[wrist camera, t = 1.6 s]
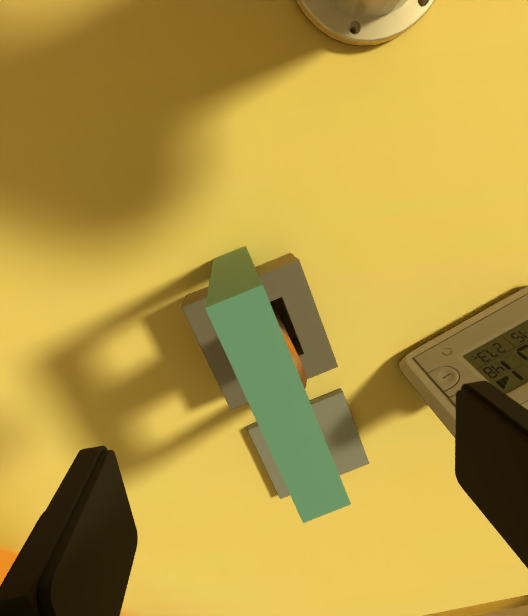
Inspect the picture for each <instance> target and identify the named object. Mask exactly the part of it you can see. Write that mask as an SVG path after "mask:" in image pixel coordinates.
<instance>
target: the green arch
mask: <svg viewBox="0 0 528 616" xmlns="http://www.w3.org/2000/svg"><path fill="white" fill-rule="evenodd" d="M205 309H206V311H207V314H208V316H209V318H210V320H211V322H212V324H213V327H214V329H215V331H216V333H217V335H218V338H219V340H220V342H221V344H222V346H223V349H224V351H225V353H226V355H227V357H228V359H229V362H230V364H231V366H232V368H233V370H234V373H235V375H236V377H237V379H238V381H239V384H240V386H241V388H242V390H243V392H244V395H245V397H246V399H247V401H248V403H249V405H250V408H251V410H252V412H253V414H254V416H255V419H256V421H257V423H258V425H259V427H260V430H261V432H262V434H263V436H264V438H265V440H266V443H267V445H268V447H269V449H270V451H271V454H272V456H273V458H274V460H275V462H276V465H277V467H278V469H279V471H280V473H281V476H282V478H283V480H284V482H285V484H286V486H287V489H288V491H289V493H290V495H291V497H292V500H293V502H294V504H295V506H296V508H297V511H298V513H299V515H300V517H301V519H302V521H303V523H305V522H307V521H310V520H312V519H315V518H317V517H320V516H322V515H325V514H327V513H330V512H332V511H335V510H337V509H340V508H342V507H345V506H348V505H350V504H351V503H350V501H349V498H348V496H347V493H346V491H345V488H344V486H343V483H342V481H341V478H340V476H339V473H338V471H337V468H336V466H335V463H334V461H333V458H332V456H331V453H330V451H329V448H328V446H327V443H326V441H325V438H324V436H323V433H322V431H321V429H320V426H319V424H318V421H317V419H316V416H315V414H314V411H313V409H312V406H311V404H310V401H309V399H308V396H307V394H306V391H305V389H304V386H303V384H302V381H301V379H300V376H299V374H298V371H297V369H296V366H295V364H294V361H293V359H292V356H291V354H290V351H289V349H288V346H287V344H286V341H285V339H284V336H283V334H282V331H281V329H280V326H279V324H278V321H277V319H276V316H275V314H274V311H273V309H272V306H271V304H270V301H269V299H268V296H267V294H266V291H265V289H264V286H263V284H262V282H261V280H260V277H259V275H258V273H257V271H256V268H255V266H254V264H253V262H252V260H251V257H250V255H249V253H248V251H247V248H246V246H244V247H242V248H240V249H237V250H235V251H232V252H230V253H227V254H225V255H222V256H220V257H217V258H215V259H213V264H212V270H211V276H210V282H209V288H208V293H207V299H206V305H205Z"/></svg>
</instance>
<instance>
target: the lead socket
mask: <svg viewBox="0 0 528 616" xmlns="http://www.w3.org/2000/svg"><path fill="white" fill-rule="evenodd" d="M255 268H256V271H257V273H258V275H259V277H260V280H261V282H262V284H263V286H264V289H265V291H266V294H267V296H268V299H269V301H273V300H275V299H278V298H281V301H282V303H283V306H284V308H285V311H286V313H287V316H288V319H289V321H290V324H291V326H292V329H293V331H294V334H295V336H296V338H294V339H292V340H291V342H292V344H293V346H294V348H295V350H296V352H297V354H298V357H299V359H300V361H301V363H302V365H303V367H304V369H305V372H306V377H307V379H309V378H311V377H314V376H316V375H319V374H321V373H323V372H326V371H328V370H331V369H333V368H336V367H338V365H337V363H336V360H335V357H334V354H333V352H332V349H331V346H330V343H329V341H328V338H327V335H326V332H325V330H324V327H323V324H322V322H321V319H320V316H319V313H318V311H317V308H316V305H315V302H314V300H313V297H312V294H311V291H310V289H309V286H308V283H307V280H306V278H305V275H304V272H303V269H302V267H301V264H300V261H299V259H297V258H296V257H295V256H294V255H293V254H291V253H289V254H287V255H284V256H282V257H279V258H277V259H275V260H272V261H270V262H267V263H265V264H262V265H260V266H257V267H255ZM208 288H209V286H208V287H205V288H203V289H201V290H198V291H196V292H193V293H191V294H188V295H186V298H185V300H184V303H183V305H182V309H183V311H184V313H185V315H186V317H187V319H188V321H189V323H190V326H191V328H192V330H193V332H194V334H195V336H196V338H197V340H198V342H199V344H200V347H201V349H202V351H203V353H204V355H205V357H206V359H207V361H208V363H209V365H210V368H211V370H212V372H213V374H214V376H215V378H216V380H217V382H218V384H219V386H220V389H221V391H222V393H223V395H224V397H225V399H226V401H227V403H228V405H229V408H230V410H231V409H234V408H236V407H239V406H241V405H244V404H246V403H248V401H247V399H246V397H245V395H244V392H243V390H242V388H241V386H240V384H239V381H238V379H237V377H236V375H235V373H234V370H233V368H232V366H231V364H230V362H229V359H228V357H227V355H226V353H225V351H224V349H223V346H222V344H221V342H220V340H219V338H218V335H217V333H216V331H215V329H214V327H213V324H212V322H211V320H210V318H209V316H208V314H207V311H206V309H205V305H206V299H207V293H208Z"/></svg>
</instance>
